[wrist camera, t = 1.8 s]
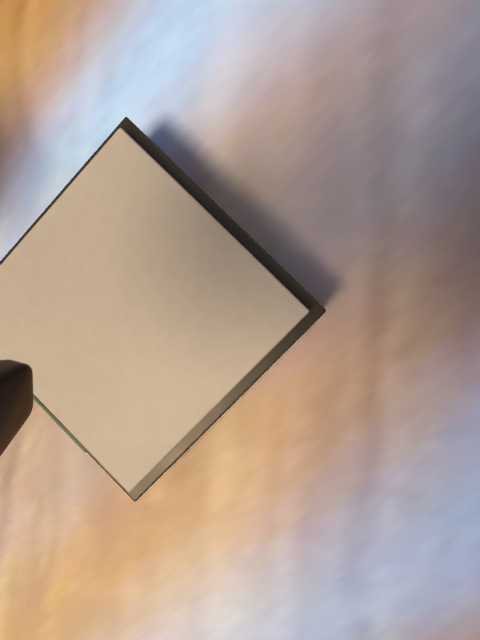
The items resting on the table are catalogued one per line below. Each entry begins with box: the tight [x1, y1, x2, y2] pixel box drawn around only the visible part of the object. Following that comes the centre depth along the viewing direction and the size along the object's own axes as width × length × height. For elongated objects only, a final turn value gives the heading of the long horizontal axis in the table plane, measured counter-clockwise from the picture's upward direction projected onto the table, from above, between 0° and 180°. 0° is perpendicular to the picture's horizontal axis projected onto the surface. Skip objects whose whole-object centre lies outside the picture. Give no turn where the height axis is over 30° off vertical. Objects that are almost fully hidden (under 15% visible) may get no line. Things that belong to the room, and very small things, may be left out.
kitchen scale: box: [0, 117, 326, 501], centre depth 21 cm, size 12×12×4 cm
